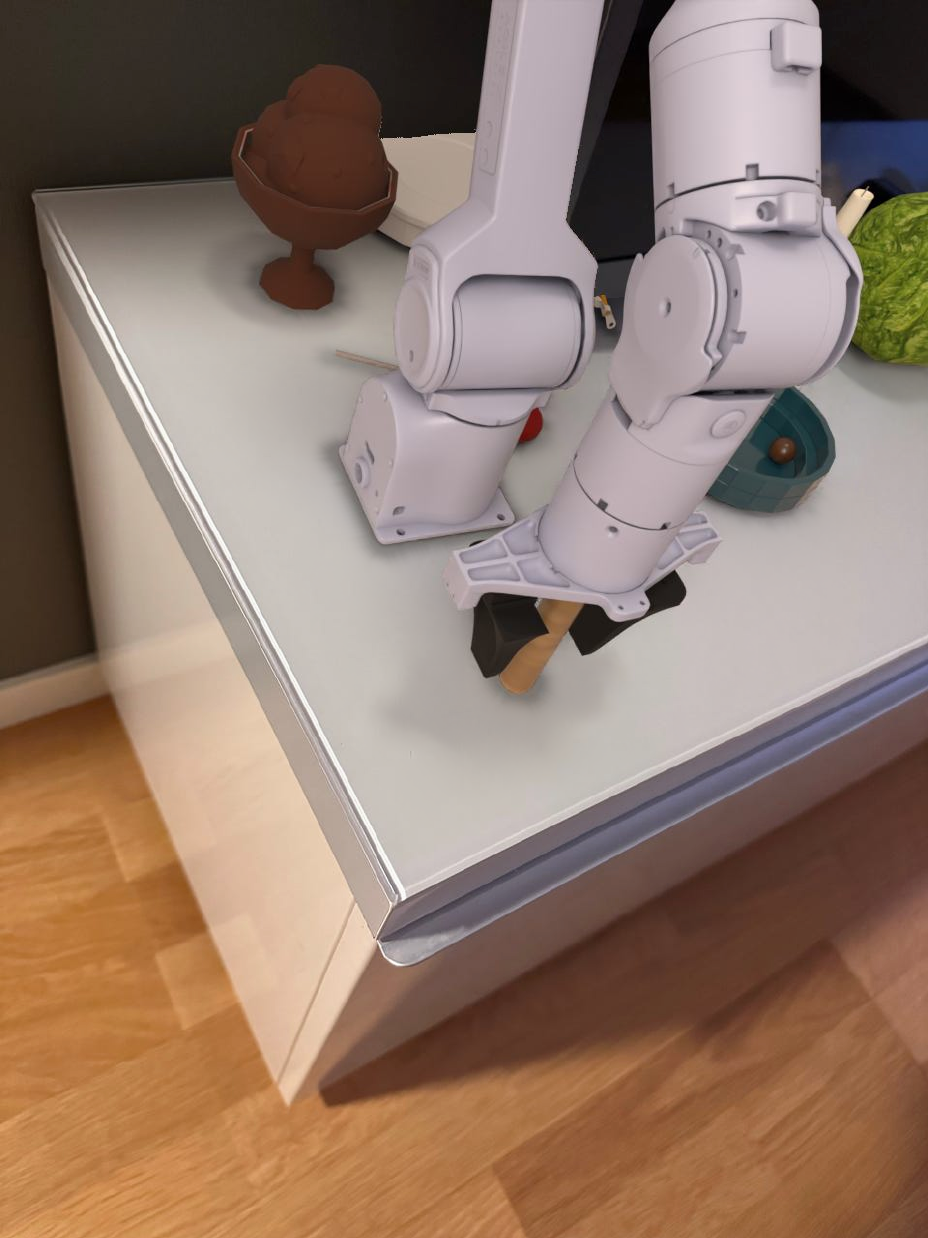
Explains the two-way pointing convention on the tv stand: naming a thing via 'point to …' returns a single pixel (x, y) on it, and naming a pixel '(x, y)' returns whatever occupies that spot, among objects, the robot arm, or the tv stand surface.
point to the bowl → (770, 484)
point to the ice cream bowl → (315, 177)
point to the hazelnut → (782, 450)
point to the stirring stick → (540, 645)
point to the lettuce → (894, 280)
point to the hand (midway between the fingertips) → (532, 650)
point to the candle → (853, 210)
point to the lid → (427, 180)
